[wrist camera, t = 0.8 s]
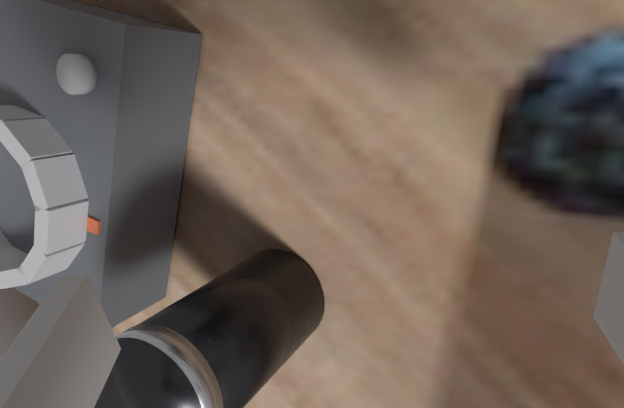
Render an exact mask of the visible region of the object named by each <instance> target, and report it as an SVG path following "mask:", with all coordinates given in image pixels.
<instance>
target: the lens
mask: <svg viewBox="0 0 624 408" xmlns="http://www.w3.org/2000/svg"><path fill="white" fill-rule="evenodd" d="M323 313H324V295H323V290H322V287H321V285H320V282H319V280H318V278H317V277H316V275H315V273H314V272H313V271H312V269H311V268H310V267H309V266H308V265H307V264H306V263H305V262H304V261H302V260H301V259H300V258H298V257H297V256H295V255H293V254H291V253H288V252H286V251H281V250H265V251H262V252H259V253H257V254H255V255H254V256H252V257H250V258H249V259H247V260H245V261H244V262H242V263H240V264H239V265H237V266H235V267H234V268H232V269H230V270H229V271H227V272H225V273H224V274H222V275H220V276H219V277H217V278H215V279H214V280H212V281H210V282H209V283H207V284H205V285H204V286H202V287H200V288H199V289H197V290H195V291H194V292H192V293H190V294H188V295H187V296H185V297H183V298H182V299H180V300H178V301H177V302H175V303H173V304H172V305H170V306H168V307H167V308H165V309H163V310H162V311H160V312H158V313H157V314H155V315H153V316H152V317H150V318H148V319H147V320H145V321H143V322H142V323H140V324H138V325H136V326H133V327H131V328H129V329H128V330H126V331H124V332H123V333H121V334H119V335H118V336H116V338H117V341H118V343H119V345H120V347H121V350H120V352H119V355H118V357H117V359H116V361H115V363H114V365H113V368H112V370H111V372H110V374H109V376H108V378H107V381H106V383H105V385H104V387H103V389H102V391H101V394H100V396H99V398H98V400H97V402H96V404H95V407H94V408H243V407H244V406H245V405H246V404H247V403H248V402H249V401H250V400H251V399H252V398H253V396H254V395H255V394H256V393H257V392H258V391H259V390H260V389H261V388H262V387H263V386H264V385H265V384H266V382H267V381H268V380H269V379H270V378H271V377H272V376H273V375H274V374H275V373H276V372H277V371H278V369H279V368H280V367H281V366H282V365H283V364H284V363H285V362H286V361H287V360H288V359H289V358H290V357H291V355H292V354H293V353H294V352H295V351H296V350H297V349H298V348H299V347H300V346H301V345H302V344H303V342H304V341H305V340H306V339H307V338H308V337H309V336H310V335H311V334H312V333H313V332H314V331H315V329H316V328H317V327H318V325H319V324H320V322H321V320H322V317H323Z"/></svg>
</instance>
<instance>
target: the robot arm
mask: <svg viewBox="0 0 624 408" xmlns="http://www.w3.org/2000/svg"><path fill="white" fill-rule="evenodd" d="M593 318H594V319H595V321H596V322H597V324H598V325H599V327H600V329H601V330H602V332H603V333H604V335H605V336H606V338H607V339H608V341H609V342H610V344H611V346H612V347H613V349H614V350H615V352H616V353H617V355H618V356H619V358H620V360H621V361H622V363H623V364H624V232H613V235H612V239H611V243H610V247H609V252H608V256H607V260H606V264H605V269H604V273H603V277H602V281H601V286H600V290H599V294H598V298H597V303H596V307H595V311H594V315H593ZM120 350H121V347H120V345H119V343H118V341H117V338H116V336H115V334H114V332H113V330H112V327H111V325H110V323H109V321H108V319H107V316H106V314H105V312H104V310H103V307H102V305H101V303H100V301H99V299H98V296H97V294H96V292H95V290H94V288H93V285H92V283H91V281H90V279H89V277H88V275H78V276H66V277H59V279H58V280H57V281H56V283H55V284H54V286H53V287H52V288H51V290H50V291H49V293H48V294H47V295H46V297H45V298H44V300H43V301H42V302H41V304H40V305H39V307H38V308H37V309H36V311H35V312H34V314H33V315H32V316H31V318H30V319H29V321H28V322H27V323H26V325H25V326H24V328H23V329H22V331H21V332H20V333H19V335H18V336H17V338H16V339H15V340H14V342H13V343H12V345H11V346H10V347H9V349H8V350H7V352H6V353H5V354H4V356H3V357H2V359H1V360H0V408H94V407H95V404H96V402H97V400H98V398H99V396H100V394H101V391H102V389H103V387H104V385H105V383H106V381H107V378H108V376H109V374H110V372H111V370H112V368H113V365H114V363H115V361H116V359H117V357H118V355H119V352H120Z"/></svg>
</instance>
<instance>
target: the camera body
mask: <svg viewBox="0 0 624 408" xmlns="http://www.w3.org/2000/svg"><path fill="white" fill-rule="evenodd" d="M201 39H202V35H201V34H198V33H194V32H190V31H186V30H183V29H179V28H175V27H171V26H168V25H164V24H160V23H156V22H152V21H149V20H145V19H141V18H137V17H134V16H130V15H126V14H122V13H119V12H115V11H111V10H107V9H104V8H100V7H96V6H92V5H89V4H85V3H81V2H77V1H73V0H0V289H4V288H10V287H13V288H14V289H16V290H18V291H20V292H22V293H23V294H25V295H27V296H28V297H30V298H32V299H34V300H35V301H37V302H39V303H41V302H42V301H43V300H44V298H45V297H46V295H47V294H48V293H49V291H50V290H51V288H52V287H53V286H54V284H55V283H56V281H57V280H58V279H59V277H66V276H78V275H88V277H89V279H90V281H91V283H92V285H93V288H94V290H95V292H96V294H97V296H98V299H99V301H100V303H101V305H102V307H103V310H104V312H105V314H106V316H107V319H108V321H109V323H110V325H111V327H114V326H116V325H117V324H119V323H121V322H123V321H125V320H126V319H128V318H130V317H132V316H133V315H135V314H137V313H139V312H140V311H142V310H144V309H146V308H147V307H149V306H151V305H153V304H154V303H156V302H158V301H160V300H161V299H163V298H165V296H166V289H167V282H168V275H169V268H170V261H171V253H172V246H173V239H174V232H175V225H176V218H177V211H178V203H179V196H180V189H181V182H182V175H183V168H184V161H185V153H186V146H187V139H188V132H189V125H190V118H191V110H192V103H193V96H194V89H195V82H196V75H197V68H198V60H199V53H200V46H201Z"/></svg>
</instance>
